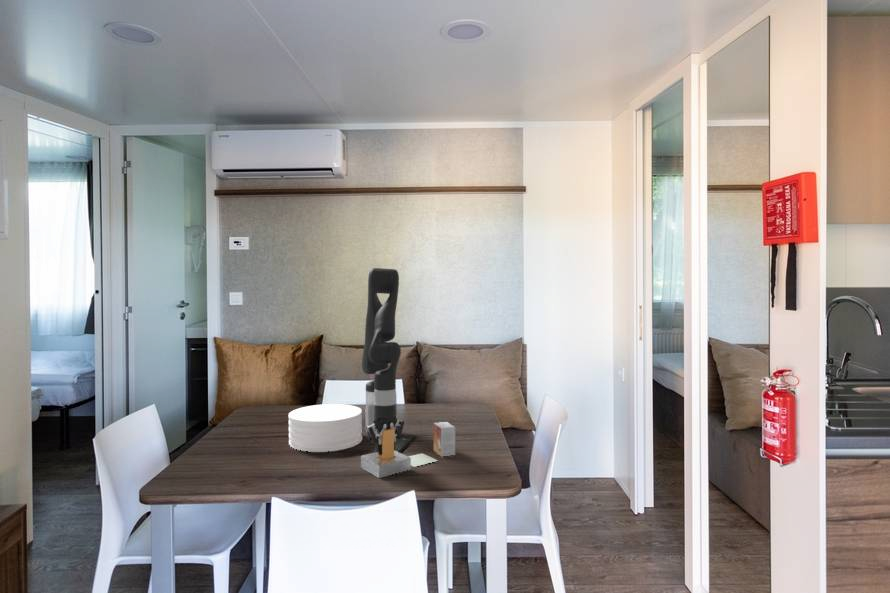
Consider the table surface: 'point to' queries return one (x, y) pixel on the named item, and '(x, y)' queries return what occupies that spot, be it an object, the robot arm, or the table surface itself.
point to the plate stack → (325, 427)
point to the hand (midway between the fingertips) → (385, 453)
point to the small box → (444, 439)
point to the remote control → (403, 442)
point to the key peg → (387, 445)
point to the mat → (421, 460)
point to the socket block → (385, 464)
